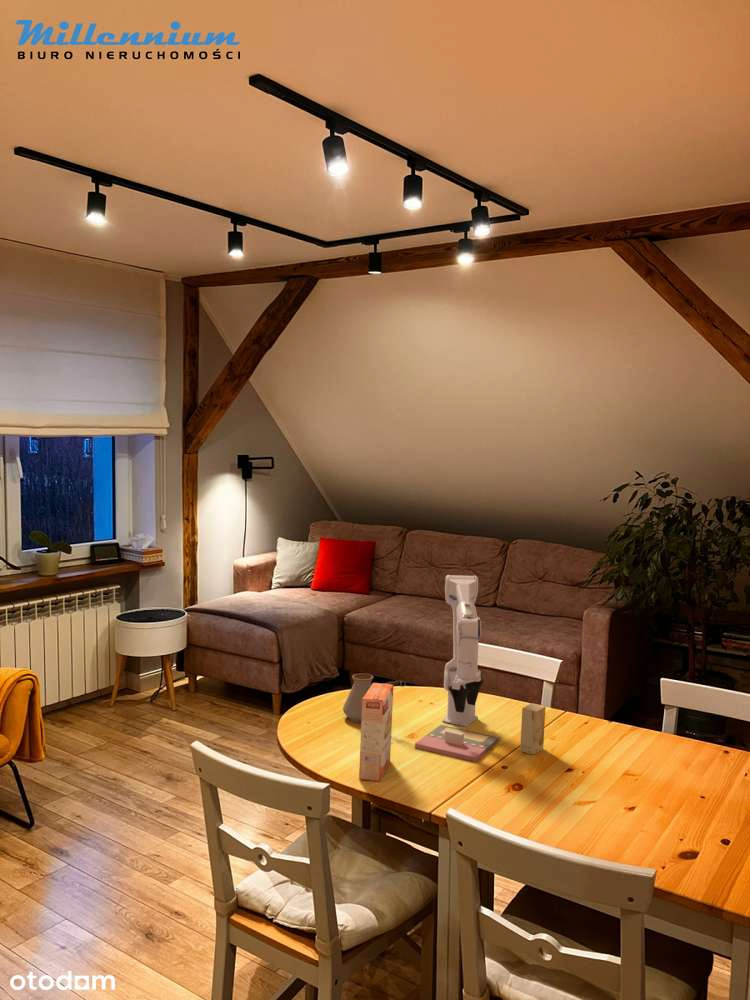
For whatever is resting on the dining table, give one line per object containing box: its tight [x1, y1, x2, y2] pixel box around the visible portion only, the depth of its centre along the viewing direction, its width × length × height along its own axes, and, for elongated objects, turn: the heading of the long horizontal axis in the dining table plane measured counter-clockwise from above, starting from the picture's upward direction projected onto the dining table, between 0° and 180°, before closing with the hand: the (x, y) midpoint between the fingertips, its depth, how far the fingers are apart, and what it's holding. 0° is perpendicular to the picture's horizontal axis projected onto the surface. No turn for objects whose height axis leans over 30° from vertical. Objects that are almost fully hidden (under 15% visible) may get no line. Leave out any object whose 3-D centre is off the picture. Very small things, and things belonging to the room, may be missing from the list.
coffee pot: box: [342, 673, 407, 723], centre depth 244 cm, size 21×12×15 cm, turn 51°
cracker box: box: [358, 682, 395, 782], centre depth 209 cm, size 14×6×21 cm, turn 168°
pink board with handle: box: [414, 730, 487, 763], centre depth 224 cm, size 7×18×4 cm, turn 61°
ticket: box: [426, 724, 500, 754], centre depth 232 cm, size 10×18×1 cm, turn 61°
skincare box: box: [519, 702, 546, 755], centre depth 226 cm, size 6×4×12 cm
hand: (465, 708), depth 230 cm, fingers open, 7 cm apart
